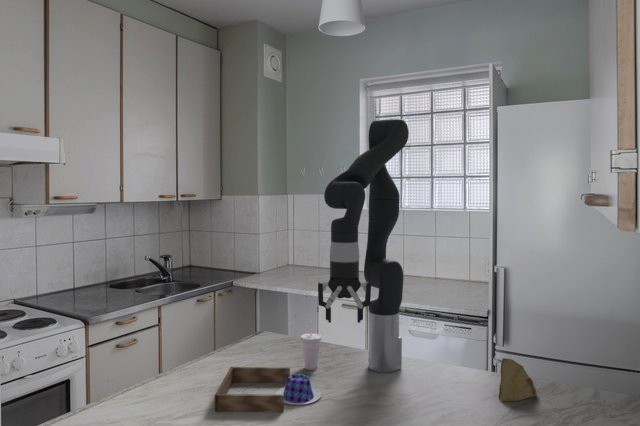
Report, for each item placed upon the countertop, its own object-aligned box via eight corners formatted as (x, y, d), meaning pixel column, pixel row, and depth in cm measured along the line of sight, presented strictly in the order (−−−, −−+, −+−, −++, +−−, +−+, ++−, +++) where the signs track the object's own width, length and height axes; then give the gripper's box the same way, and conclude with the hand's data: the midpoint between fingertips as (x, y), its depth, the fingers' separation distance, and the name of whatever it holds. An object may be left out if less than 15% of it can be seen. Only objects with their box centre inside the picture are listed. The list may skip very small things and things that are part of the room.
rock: (535, 381, 129) (497, 372, 132) (543, 363, 124) (502, 354, 127) (536, 418, 122) (495, 408, 125) (544, 402, 116) (501, 391, 119)
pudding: (328, 392, 128) (328, 373, 128) (309, 411, 117) (309, 390, 117) (288, 384, 133) (288, 366, 133) (266, 402, 122) (266, 382, 122)
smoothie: (322, 364, 148) (322, 319, 147) (320, 371, 141) (320, 325, 141) (302, 363, 148) (302, 318, 148) (299, 371, 142) (299, 324, 141)
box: (289, 381, 134) (289, 367, 134) (283, 412, 116) (283, 396, 116) (230, 380, 135) (230, 366, 135) (214, 411, 116) (214, 395, 116)
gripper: (370, 256, 127) (370, 318, 128) (317, 256, 127) (317, 317, 128) (373, 261, 119) (373, 326, 120) (316, 260, 119) (316, 325, 120)
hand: (344, 321), depth 124 cm, fingers open, 7 cm apart
